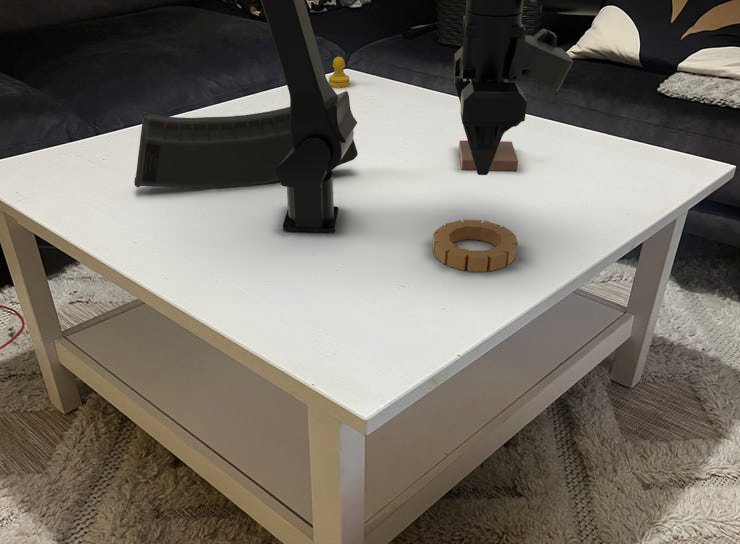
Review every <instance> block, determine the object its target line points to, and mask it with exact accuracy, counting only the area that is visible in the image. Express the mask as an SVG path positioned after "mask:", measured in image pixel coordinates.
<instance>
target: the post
mask: <svg viewBox="0 0 740 544" xmlns="http://www.w3.org/2000/svg"><path fill="white" fill-rule="evenodd" d="M458 155H459V160H460V168H461V170H463V171H464V170H465V171H469V170H470V171H476V167H475V164H474V160H473V157H472V153H471V150H470V147H469V143H468V140H462V139H461V140H459V142H458ZM518 165H519V159H518V157H517V153H516V150H515V147H514V144H513V141H510V140H509V141H506V140H505V141H503V140H501V141H500V143H499V146H498V149H497V151H496V154H495V156H494V159H493V162H492V164H491V167H490V170H489V171H506V172H507V171H509V172H510V171H511V172H515V171H516V172H517V170H518Z"/></svg>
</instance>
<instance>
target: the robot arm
mask: <svg viewBox="0 0 740 544" xmlns="http://www.w3.org/2000/svg"><path fill="white" fill-rule="evenodd" d="M602 1H603V0H530V2H536V6H540V14H554V15H555V14H557V15H575V16H576V15H577V16H598V15H599V12H600V9H601V5H602ZM260 2H261V7H262V9H263V13H264V15H265V19H266V22H267V26H268V28H269V31H270V36H271V38H272V42H273V44H274V48H275V51H276V55H277V58H278V60H279V61H278V62H279V65H280V68H281V70H282V71H281V72H282V73H283V76H284V80H285V83H286V86H287V89H288V93H289V107H290V129H291V136H292V143H293V148H292V149H291V150H290V152H289V153H288V154H287V156H286V157H285V158H284V159H283V161H282V162H281V163H280V165H279V166H278V167H277V168H276V174H277V176H278V179H279V181H278V182H279V184H280V185H281V186H282V187H286V198H287V210H286V213H285V217H284V220H283V224H282V230H283V231H285V232H313V233H314V232H318V233H334V232H335V231H336V228H337V223H338V217H339V211H340V208H339V206H335V205H334V173H333V170H335V169H336V168H337V167H338V164H339V163H340V161H341V159H342V158H343V156H344V154H345V153H346V151H347V149H348V148H349V146H350V144H351V143H352V140H353V139H354V133H355V131H354V130H355V128H356V126H357V124H358V120H357V119H356V118H355V117H354V115H353V112H352V109H351V101H350V95H349V91H347V90H345V91H342V92H341V93H338V94H337V92H336V91H335V89H334V87H332V86H330V84H329V80H328V79H327V76H326V71H325V69H324V65H323V62H322V57H321V55H320V51H319V48H318V44H317V40H316V37H315V33H314V30H313V27H312V22H311V19H310V15H309V12H308V9H307V5H306V2H305V0H260ZM524 3H525V2H524V0H466V3H465V12H464V13H465V15H463V17H462V29H463V39H462V40H463V42H462V46H461V47H460V48H459V49H458V50H457V51H456V52H455V53H453V64H452V65H453V66H452V67H453V68H452V72H453V80H454V86H455V89H456V93H457V97H458V100H459V104H460V120H461V123H462V126H463V130H464V133H465V136H466V141H468V143H469V147H470V150H471V153H472V157H473V160H474V164H475V167H476V170H475V171H476V173H477V175H478V176H487V175H488V174H489V172H490V171H491V170H490V167H491V164H492V162H493V159H494V156H495V154H496V151H497V149H498V146H499V143H500V141H502V138H503V137H504V134H505V133H507V131H509V130H510V129H512V128H515V127H517V126H519V125H520V124H521V123H523V122H525V121H526V114H527V106H528V101H527V98H526V96H525V94H524V91H523V90H522V89H521V88H520V86H519V85H518V84H517V83H516V82H521V80H522V75H523V76H524V77H527V78H529V79H531V80H533V81H536V82H538V83H541V84H544V85H546V86H547V88H548V89H551V90H553V91H560V89H561V87H562V85H563V83H564V81H565V79H566V78H567V75H568V73H569V71H570V69H571V68H572V66H573V63H574V60H573V59H572V58H571V56H570V54H569V53H568V52H567V51H565V50H564V49H563V48H561V47H558V36H557V35H556V34H555V32H553V31H551V30H549V29H546V28H542V29H540V30H539V31H538V32H537V33H536V34H534V35H530V34H529V35H527V29H526V28H525V26H524V24H523V22H522V17H523V10H524Z"/></svg>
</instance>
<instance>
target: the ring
mask: <svg viewBox="0 0 740 544" xmlns="http://www.w3.org/2000/svg"><path fill="white" fill-rule="evenodd" d="M432 238H433V240H432V241H433V242H432V254H433V255H434V257H435V259H437V260H438V261H440V262H441V264H443V265H446V266H447V267H450V268H453V269H455V270H459V271H466V272H474V273H475V272H476V273H478V272H479V273H487V271H488V272H493V271H497V270H500V269H505V268H506V267H508V266H509V265H510V264H511V263H512V262H513V261H514V260H515V259H516V257H517V253H518V252H517V251H518V239H517V236H516V234H515V233H514V232H513V231H512V230H510V229H508V228H507V227H505V226H504V225H501V224H499V223H494V222H491V221H488V220H483V221H482V220H481V219H463V220H460V219H459V220H455V221H450V222H447V223H445V224H442V225H441V226H439V227H438V228H436V230H434V232H433V237H432ZM465 240H472V241H473V240H474V241H480V242H481V241H482V242H484V243H489V244H491V245H493V246H494V247H493V248H489V249H486V250H477V249H475V250H472V249H466V248H464V247H460V246H457V245H456V244H455V243H457V242H460V241H465Z"/></svg>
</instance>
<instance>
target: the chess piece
mask: <svg viewBox="0 0 740 544" xmlns="http://www.w3.org/2000/svg"><path fill="white" fill-rule="evenodd" d="M332 67H333V68H334V73H333V74H331V75H329V76H328V83H329V84H330V86H331V87H332V88H347V87H348V86H350V76H349V75H347V74H346V73H345V71H344V68H346V64H345V59H344V58H343V57H342V56H336V57H335V58H334V59H333V62H332Z"/></svg>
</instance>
